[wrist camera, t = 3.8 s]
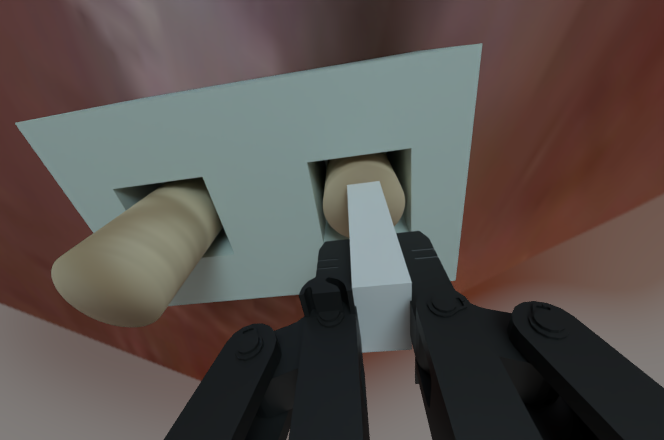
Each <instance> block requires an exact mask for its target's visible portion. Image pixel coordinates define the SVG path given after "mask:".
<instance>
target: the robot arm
mask: <svg viewBox="0 0 664 440" xmlns="http://www.w3.org/2000/svg"><path fill="white" fill-rule="evenodd" d="M347 195H348V216H349V237H350V239H344V240H335V241H325V242H324V244H323V245H322V247H321V248H320V249H319V253H318V262H317V270H316V277H315V278H313V279H311V280H309V281H308V282H307V283H306V284H305V285H304V286H303V287H302V288H301V291H300V293H299V298H300V301H301V305H302V308H303V312H304V315H305V316H304V317H303V318H302V319H300V320H299V321H298V322H296V323H294V324H291V325H289V326H286V327H284V328H281V329H278V330H276V331H273V329H272V328H271V327H270V326H268V325H265V324H251V325H249V326H246V327H243V328H242V329H240V330H239V331H237V332H236V333H234V334H233V336H232V337H231V338H230V339H229V340H228V341H227V343H226V344H225V346H224V347H223V349H222V350H221V352H220V354H219V355H218V357H217V358H216V360H215V361H214V363H213V364H212V366H211V367H210V369H209V370H208V372H207V374H206V375H205V377H204V378H203V380H202V381H201V383H200V384H199V386H198V388H197V389H196V391H195V392H194V394H193V395H192V397H191V398H190V400H189V402H188V403H187V404H186V406H185V408H184V409H183V411H182V412H181V414H180V415H179V417H178V418H177V420H176V421H175V423H174V425H173V426H172V428H171V429H170V431H169V432H168V434H167V436H166V437H165V439H164V440H286V438H287V435H288V432H289V429H290V433H289V440H370V437H369V424H368V412H367V398H366V387H365V373H364V366H363V356H362V353H363V352H378V351H394V350H410V349H412V345H413V349H414V353H415V383H416V384H419V385H420V390H421V394H422V398H423V402H424V406H425V410H426V415H427V419H428V423H429V427H430V431H431V436H432V440H664V388H663V387H662V386H660V385H659V384H658V383H657V382H655V381H654V380H653V379H652V378H650V377H649V376H648V375H647V374H645V373H644V372H643V371H642V370H640V369H639V368H638V367H637V366H635V365H634V364H633V363H631V362H630V361H629V360H628V359H627V358H625V357H624V356H623V355H622V354H620V353H619V352H618V351H617V350H615V349H614V348H613V347H611V346H610V345H609V344H608V343H607V342H605V341H604V340H603V339H602V338H600V337H599V336H598V335H596V334H595V333H594V332H593V331H591V330H590V329H589V328H588V327H586V326H585V325H584V324H583V323H581V322H580V321H579V320H577V319H576V318H575V317H574V316H572V315H571V314H569V313H568V312H566V311H564V310H563V309H561V308H559V307H556V306H553V305H551V304H548V303H543V302H536V301H531V302H523V303H521V304H519V305H517V306H516V307H515V308H514V310H513V312H512V313H507V312H501V311H496V310H490V309H485V308H481V307H478V306H476V305H473V304H471V303H470V302H469V301H468V300H467V299H466V297H465V296H463V295H462V294H460V293H459V292H457V291H455V289H454V288H453V286H452V284H451V282H450V280H449V278H448V275H447V273H446V271H445V269H444V267H443V265H442V263H441V261H440V259H439V257H438V255H437V253H436V251H435V249H434V247H433V245H432V243H431V241H430V239H429V238H428V237H427V236H426V235H424V234H423V233H422V232H420V231H411V232H402V233H396V231H395V228H394V225H393V222H392V219H391V216H390V213H389V209H388V206H387V203H386V200H385V197H384V194H383V191H382V187H381V184H380V181H375V182H367V183H359V184H351V185H347Z"/></svg>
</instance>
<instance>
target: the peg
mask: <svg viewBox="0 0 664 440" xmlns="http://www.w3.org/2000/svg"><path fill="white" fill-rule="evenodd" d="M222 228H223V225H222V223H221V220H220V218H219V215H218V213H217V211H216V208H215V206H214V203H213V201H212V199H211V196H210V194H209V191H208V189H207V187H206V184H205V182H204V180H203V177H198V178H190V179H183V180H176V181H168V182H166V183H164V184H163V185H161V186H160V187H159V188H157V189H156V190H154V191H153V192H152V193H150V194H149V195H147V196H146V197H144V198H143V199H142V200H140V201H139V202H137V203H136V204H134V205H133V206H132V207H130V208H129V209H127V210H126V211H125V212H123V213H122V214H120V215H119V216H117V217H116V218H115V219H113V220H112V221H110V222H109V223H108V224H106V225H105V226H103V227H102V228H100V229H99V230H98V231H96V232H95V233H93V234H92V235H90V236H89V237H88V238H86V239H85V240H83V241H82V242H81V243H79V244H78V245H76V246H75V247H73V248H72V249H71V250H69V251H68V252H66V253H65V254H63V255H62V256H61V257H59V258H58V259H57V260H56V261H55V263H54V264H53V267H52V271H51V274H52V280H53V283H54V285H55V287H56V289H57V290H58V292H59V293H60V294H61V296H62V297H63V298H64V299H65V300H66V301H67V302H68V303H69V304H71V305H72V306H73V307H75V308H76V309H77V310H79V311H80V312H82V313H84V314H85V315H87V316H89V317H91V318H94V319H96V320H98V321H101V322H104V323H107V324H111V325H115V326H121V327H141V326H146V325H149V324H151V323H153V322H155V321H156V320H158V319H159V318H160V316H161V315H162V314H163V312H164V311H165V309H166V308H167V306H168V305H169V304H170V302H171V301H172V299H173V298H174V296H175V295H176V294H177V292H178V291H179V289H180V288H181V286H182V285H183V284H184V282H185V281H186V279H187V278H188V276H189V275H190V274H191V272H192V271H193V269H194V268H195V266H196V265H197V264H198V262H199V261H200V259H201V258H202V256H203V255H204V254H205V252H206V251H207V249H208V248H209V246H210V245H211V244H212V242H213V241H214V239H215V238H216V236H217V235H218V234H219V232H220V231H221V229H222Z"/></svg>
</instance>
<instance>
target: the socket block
mask: <svg viewBox="0 0 664 440" xmlns="http://www.w3.org/2000/svg"><path fill="white" fill-rule="evenodd" d="M481 51H482V44H473V45H465V46H456V47H447V48H438V49H430V50H421V51H415V52H409V53H403V54H397V55H392V56H386V57H380V58H374V59H368V60H362V61H357V62H351V63H345V64H339V65H333V66H327V67H322V68H316V69H310V70H304V71H298V72H292V73H287V74H281V75H275V76H269V77H263V78H257V79H251V80H246V81H240V82H234V83H228V84H222V85H216V86H211V87H205V88H199V89H193V90H187V91H181V92H176V93H170V94H164V95H158V96H152V97H146V98H141V99H136V100H131V101H125V102H120V103H115V104H110V105H105V106H100V107H95V108H89V109H84V110H79V111H74V112H69V113H64V114H59V115H53V116H48V117H43V118H38V119H33V120H28V121H23V122H17V123H15V124H16V125H17V127H18V128H19V130H20V131H21V132H22V134H23V135H24V137H25V138H26V139H27V141H28V142H29V144H30V145H31V146H32V148H33V149H34V151H35V152H36V153H37V155H38V156H39V158H40V159H41V160H42V162H43V163H44V165H45V166H46V167H47V169H48V170H49V171H50V173H51V174H52V176H53V177H54V178H55V180H56V181H57V183H58V184H59V185H60V187H61V188H62V190H63V191H64V192H65V194H66V195H67V197H68V198H69V199H70V201H71V202H72V204H73V205H74V206H75V208H76V209H77V211H78V212H79V213H80V215H81V216H82V217H83V219H84V220H85V222H86V223H87V224H88V226H89V227H90V229H91V230H92V231H93V233H95V232H96V231H98V230H99V229H100V228H102V227H103V226H105V225H106V224H108V223H109V222H110V221H112V220H113V219H115V218H116V217H117V216H119V215H120V214H122V213H123V212H125V211H126V210H127V209H129V208H130V207H132V206H133V205H134V204H136V203H137V202H139V201H140V200H142V199H143V198H144V197H146V196H147V195H149V194H150V193H152V192H153V191H154V190H156V189H157V188H159V187H160V186H161V185H163V184H164V183H166V182H168V181H176V180H183V179H190V178H198V177H203V180H204V182H205V184H206V187H207V189H208V191H209V194H210V196H211V199H212V201H213V203H214V206H215V208H216V211H217V213H218V215H219V218H220V220H221V223H222V225H223V228H222V229H221V231H220V232H219V234H218V235H217V236H216V238H215V239H214V241H213V242H212V244H211V245H210V246H209V248H208V249H207V251H206V252H205V254H204V255H203V256H202V258H201V259H200V261H199V262H198V264H197V265H196V266H195V268H194V269H193V271H192V272H191V274H190V275H189V276H188V278H187V279H186V281H185V282H184V284H183V285H182V286H181V288H180V289H179V291H178V292H177V294H176V295H175V296H174V298H173V299H172V301H171V302H170V304H169V305H168V306H174V305H185V304H196V303H207V302H219V301H230V300H241V299H253V298H264V297H275V296H286V295H298V294H299V293H300V291H301V288H302V287H303V286H304V285H305V284H306V283H307V282H308V281H309V280H311V279H313V278H315V277H316V270H317V262H318V253H319V249H320V248H321V247H322V245H323V244H324V242H325V241H335V240H344V239H350V238H348V237H346V236H343V235H341V234H340V233H338V232H337V231H335V230H334V229H333V228H332V227H331V226H330V224H329V223H328V221H327V220H326V218H325V215H324V211H323V197H324V189H325V180H326V172H327V164H328V160H329V159H336V158H343V157H351V156H358V155H365V154H373V153H380V152H385V154H386V156H387V158H388V160H389V162H390V164H391V166H392V168H393V170H394V172H395V174H396V176H397V178H398V181H399V183H400V185H401V187H402V189H403V192H404V196H405V207H404V211H403V214H402V216H401V218H400V220H399V221H398V223H397V224H396V225H395V226H394V228H395V231H396V233H402V232H411V231H420V232H422V233H423V234H424V235H426V236H427V237H428V238H429V239H430V241H431V243H432V245H433V247H434V249H435V251H436V253H437V255H438V257H439V259H440V261H441V263H442V265H443V267H444V269H445V271H446V273H447V275H448V278H449V280H450V281H455V280H456V271H457V263H458V254H459V245H460V236H461V227H462V218H463V210H464V201H465V192H466V183H467V174H468V166H469V157H470V148H471V139H472V130H473V122H474V113H475V104H476V95H477V86H478V77H479V69H480V60H481Z"/></svg>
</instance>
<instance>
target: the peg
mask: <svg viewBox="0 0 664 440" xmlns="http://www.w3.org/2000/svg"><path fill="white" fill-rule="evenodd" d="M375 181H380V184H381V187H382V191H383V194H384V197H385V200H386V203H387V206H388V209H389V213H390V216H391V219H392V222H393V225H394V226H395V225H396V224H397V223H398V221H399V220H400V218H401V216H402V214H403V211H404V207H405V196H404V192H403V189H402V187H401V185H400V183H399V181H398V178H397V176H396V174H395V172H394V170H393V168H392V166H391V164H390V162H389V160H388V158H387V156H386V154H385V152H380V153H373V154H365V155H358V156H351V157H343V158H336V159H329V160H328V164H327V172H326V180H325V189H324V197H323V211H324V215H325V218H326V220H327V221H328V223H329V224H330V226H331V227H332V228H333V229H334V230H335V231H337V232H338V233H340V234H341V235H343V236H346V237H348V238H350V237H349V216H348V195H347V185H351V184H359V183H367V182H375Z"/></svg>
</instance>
